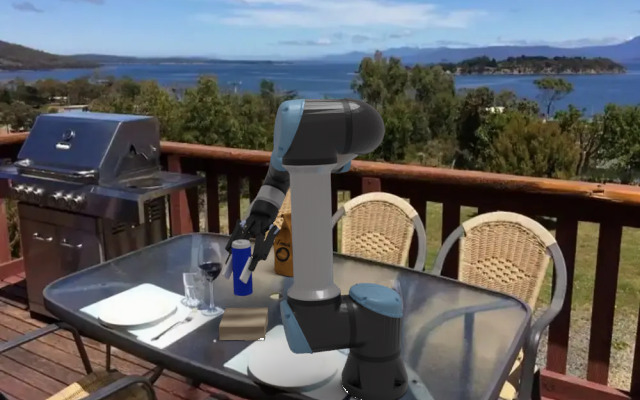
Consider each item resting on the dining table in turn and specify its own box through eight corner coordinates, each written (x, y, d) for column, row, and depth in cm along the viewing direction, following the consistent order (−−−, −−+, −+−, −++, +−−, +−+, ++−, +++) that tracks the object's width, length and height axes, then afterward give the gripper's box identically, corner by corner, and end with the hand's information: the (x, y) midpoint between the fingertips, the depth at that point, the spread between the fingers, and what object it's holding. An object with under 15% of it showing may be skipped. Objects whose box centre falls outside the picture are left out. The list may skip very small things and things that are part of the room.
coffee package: (269, 274, 199) (267, 213, 194) (288, 263, 210) (286, 205, 205) (294, 278, 195) (293, 216, 190) (311, 267, 205) (311, 208, 200)
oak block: (264, 340, 152) (264, 326, 151) (219, 340, 152) (218, 327, 151) (268, 320, 163) (267, 307, 163) (226, 320, 163) (225, 308, 162)
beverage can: (256, 294, 155) (254, 242, 152) (241, 299, 152) (239, 246, 148) (245, 289, 159) (243, 237, 155) (230, 294, 156) (227, 242, 152)
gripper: (299, 216, 159) (268, 291, 149) (247, 208, 168) (214, 279, 158) (289, 201, 154) (255, 279, 144) (235, 194, 162) (200, 267, 152)
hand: (234, 278), depth 151 cm, fingers closed on beverage can, 5 cm apart
